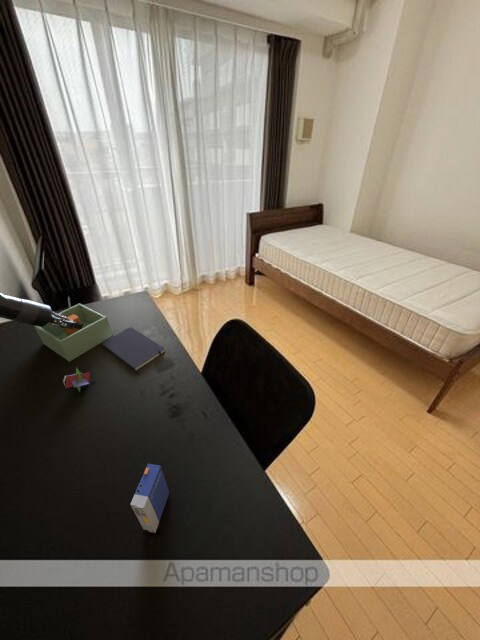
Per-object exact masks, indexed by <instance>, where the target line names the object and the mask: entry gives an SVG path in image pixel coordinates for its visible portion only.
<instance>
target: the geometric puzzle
mask: <svg viewBox="0 0 480 640" xmlns="http://www.w3.org/2000/svg"><path fill="white" fill-rule="evenodd" d="M71 373H72V371H71V372H69V374H67V375H64V378H63V379H62V382H63V383H62V384H64V387H65V389H70V388H71V389H74V388H75V389H76V390H77V391H78V393H81V387H83V386H84V389H86V388H87V387H88V386H89V385H90V384H91V383H90V382H91V371H83V372H81V370H80V368H79V367H78V366H76V367H75V373H72V374H71Z"/></svg>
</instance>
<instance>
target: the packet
mask: <svg viewBox="0 0 480 640" xmlns="http://www.w3.org/2000/svg"><path fill="white" fill-rule="evenodd" d="M67 318H68V319H69V320H72V321H75V322H79V323H81V321H80V319H79V317H78V316H76V315H74V314H73V315H71V316H69V317H67ZM64 320H65V319H64ZM82 329H83V327H82ZM64 330H65V332H66V334H67V336H70V335H72V334H74V333H75V332H77V331H79V330H81V329H77V328H74V329H67V328H64Z"/></svg>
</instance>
